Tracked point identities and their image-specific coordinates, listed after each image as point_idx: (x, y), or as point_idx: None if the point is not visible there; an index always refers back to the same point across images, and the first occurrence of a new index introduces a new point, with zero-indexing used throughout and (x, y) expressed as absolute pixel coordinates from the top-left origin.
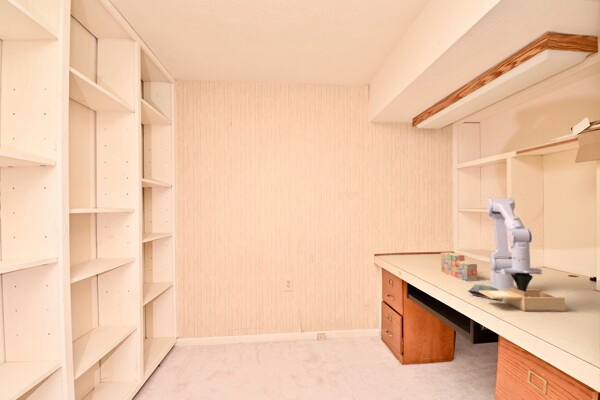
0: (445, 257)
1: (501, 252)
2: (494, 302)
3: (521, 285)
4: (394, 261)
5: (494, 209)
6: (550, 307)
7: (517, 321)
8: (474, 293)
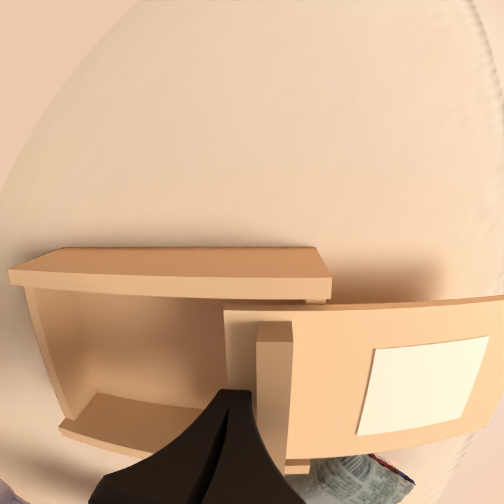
0: None
1: None
2: None
3: (260, 437)
4: None
5: None
6: (123, 253)
7: (462, 102)
8: (400, 471)
